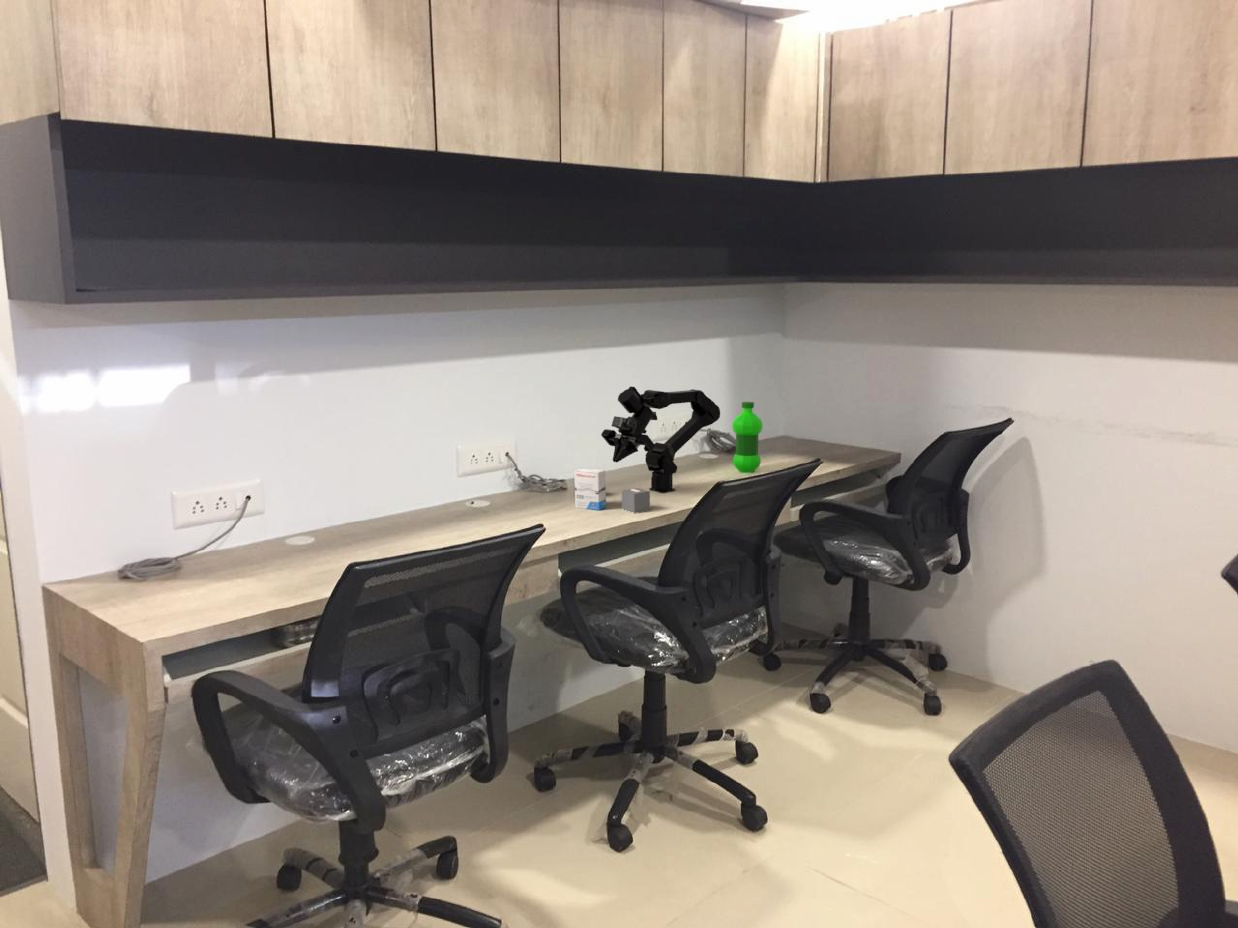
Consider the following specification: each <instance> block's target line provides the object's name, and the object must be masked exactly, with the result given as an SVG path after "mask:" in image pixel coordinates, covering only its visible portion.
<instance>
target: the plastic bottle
mask: <svg viewBox="0 0 1238 928" xmlns="http://www.w3.org/2000/svg"><path fill="white" fill-rule="evenodd" d="M754 407H755V401H741V408H742V409H743V410H742V412H741V413H740V414H738V416H736V417H735V418H734V420H733V422H732V431H733V432H734V433H735V454H734V455H733V458H732V465H733V466H734V467H735V468H736V469H737V471H739V472H740V473H743V474H749V473H750V472H751V473H754V472H755V471H756V470H757V469H758V468H759V467H760V465H761V457H760V455H759V434H760V433H761V432H762V431H763V430H762V429H763V422H762V420H761V418H759V416H757V414H755V413H754V412H753V409H754Z"/></svg>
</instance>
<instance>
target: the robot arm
mask: <svg viewBox="0 0 1238 928" xmlns="http://www.w3.org/2000/svg"><path fill="white" fill-rule="evenodd" d="M617 401H618V402H619V404H621V406H622V407H623V408H624V409H625V410H626V412H627V413H629V414H632V416H628V417H623V416H616V415H615V416H613V419H612V423H611V427H614V428H616V429H617V431H615V430H614V429H608V428H607V429H603V431H602V433H601V434H600V436H601V437H602V438H603V439H604V440H605V442H606V443H607V444H608V445H609V446H610V447H614V451H613V456H612V462H613V463H618V462H621V461H622V460H623V459H626V458H627V457H628V456H630V455H632V454H635V453H638V452H639V450H638V448H639V447H641V446H643V450H644V452H646V453H645V459H644V460H645V464H646V465H647V469H648V471H650V472H651V477H650V480H651V481H650V484H651V485H650V487H649V488H648V491H653V492H658V493H661V494H662V493H667V492H673V491H676V488H674V487H673V480H674V479H673V478H674V477H673V475H674V474H676V473H677V470H678V466H677V464H676V463H675V462H674V460H675V456H676V453H677V452H678V451H680V450H681V448H682V447H684V446H685V445H686V444H687V443H688V442H689V441H690V440H691V439H692V438H693V437H694V436H695V435H696V434H698V432H699V431H700V430H701V429H702V428H704V427H708V426H711V425H712V424H714V423H716V422H718V421H719V419H720V417H721V409H720V407H719V406H718V404H716V403H715V402H714V401H713V400H712V399H710V397H708V396H707V395H706V394H705V392H703V391H702V390H699V389H692V388H691V389H687V390H678V391H661V390H660V391H659V390H655V389H654V390H653V389H646V390H645V391H644V392H643V393H642V394H641V393H640V392H639V391H638V389H637V387H635V386H629V387H628V388H627V389H624V390H623V391H622V392H620V393H619V394H618V396H617ZM686 403H687V404H688V403H690V408H691V409H692V411H691V412H692V413H691V418H690V419H689V420H688V421H687V422H685V424H683V426H681V427H680V428H679V429H678V430H677V431H675V432H674V433H673V434H672V436H670V437H669V438H668V439H667V440H666V441H665V442H664V443H662V442H658V441H657V442H654V441H653V440H652V439H651V438H650V436H649V435H648V434H646V433H647V431H648V430H647V427H648V425H649V424H650V422H651V421H658V416H657V412H656V411H653V410H652V409H656V410H661V409H665V408H668V407H669V406H671V405H675V404H686ZM617 432H618V433H617Z"/></svg>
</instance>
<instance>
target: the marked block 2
mask: <svg viewBox="0 0 1238 928" xmlns="http://www.w3.org/2000/svg"><path fill="white" fill-rule="evenodd" d="M650 491H651V490H646V489H643V488H639V487H634V488H630V489H624V490H621V510H622V509H624V510H623V511H625V510H627V511H626V512H628V511H630V512H629V513H631V512H634V513H633V514H637V513H636V512H639V513H642V512H641V511H644V512H648V511H647V510H649V511H651V499H650V498H651V492H650Z"/></svg>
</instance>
